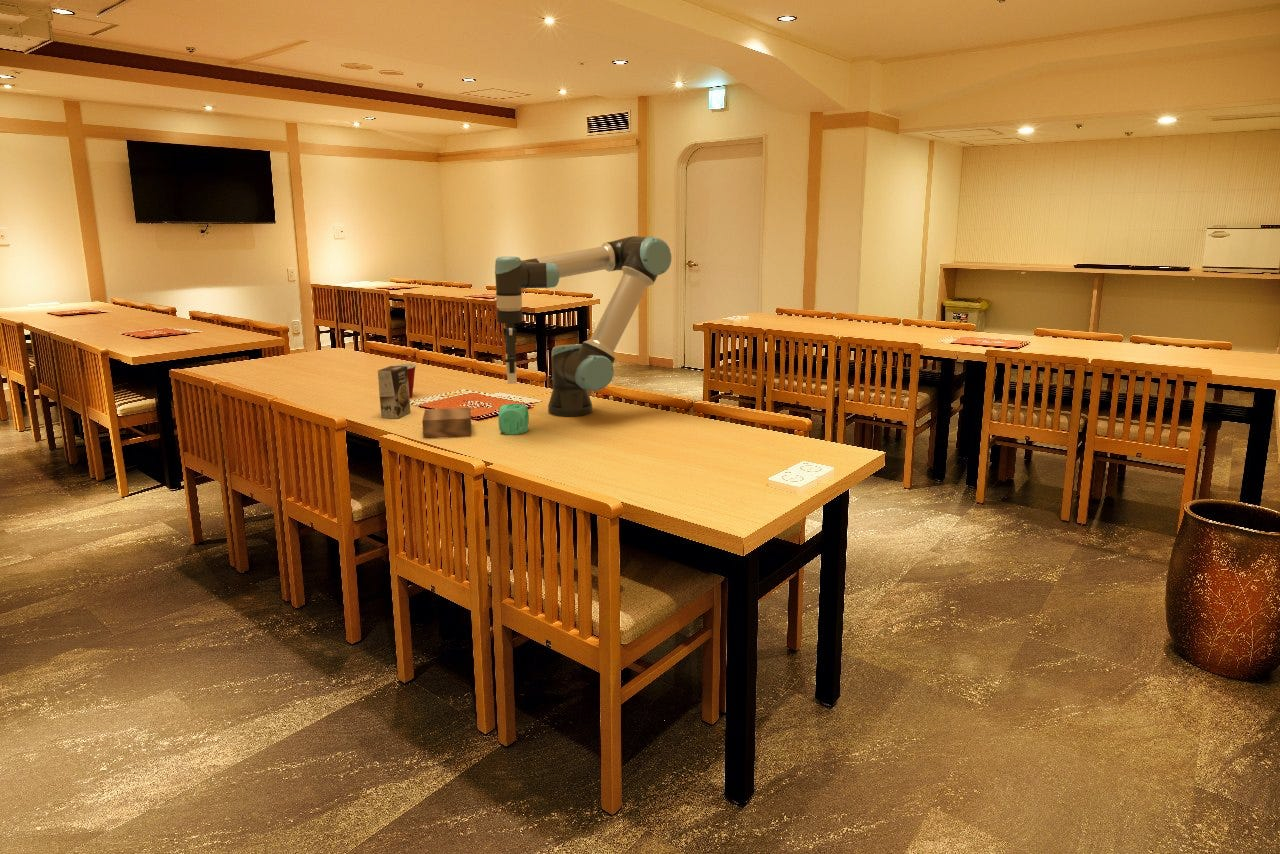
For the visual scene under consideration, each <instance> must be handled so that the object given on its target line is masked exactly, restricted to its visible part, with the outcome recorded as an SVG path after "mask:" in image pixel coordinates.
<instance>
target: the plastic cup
mask: <svg viewBox="0 0 1280 854" xmlns="http://www.w3.org/2000/svg"><path fill="white" fill-rule="evenodd" d="M391 366H407V370H408V384H409V397H410V399H411V398H413V395H414V394H413V393H414V392H413V391H414V382H415V372H416V368H417V364H416V363H412V362H410V363H409V362H405V363H398V364H393V365H391Z"/></svg>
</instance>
